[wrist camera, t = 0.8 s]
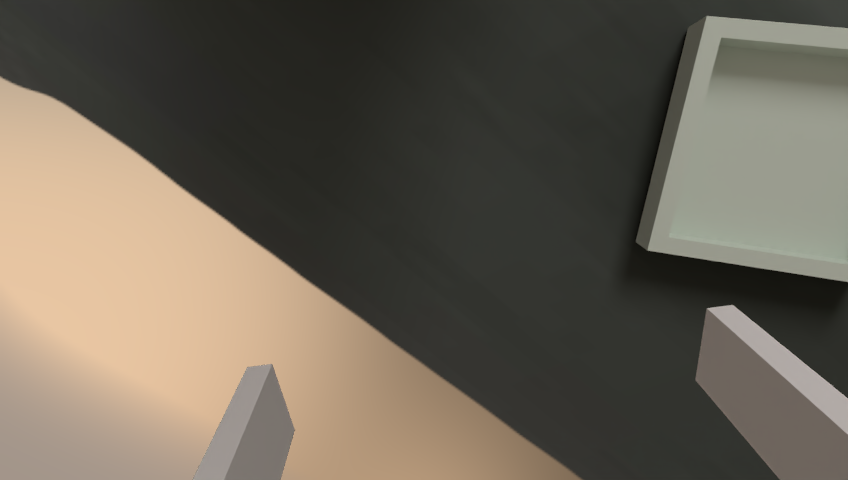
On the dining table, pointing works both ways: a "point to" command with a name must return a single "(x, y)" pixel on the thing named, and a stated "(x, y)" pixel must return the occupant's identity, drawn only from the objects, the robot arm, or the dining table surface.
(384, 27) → the dining table surface
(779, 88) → the parts tray
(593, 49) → the dining table surface
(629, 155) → the dining table surface
